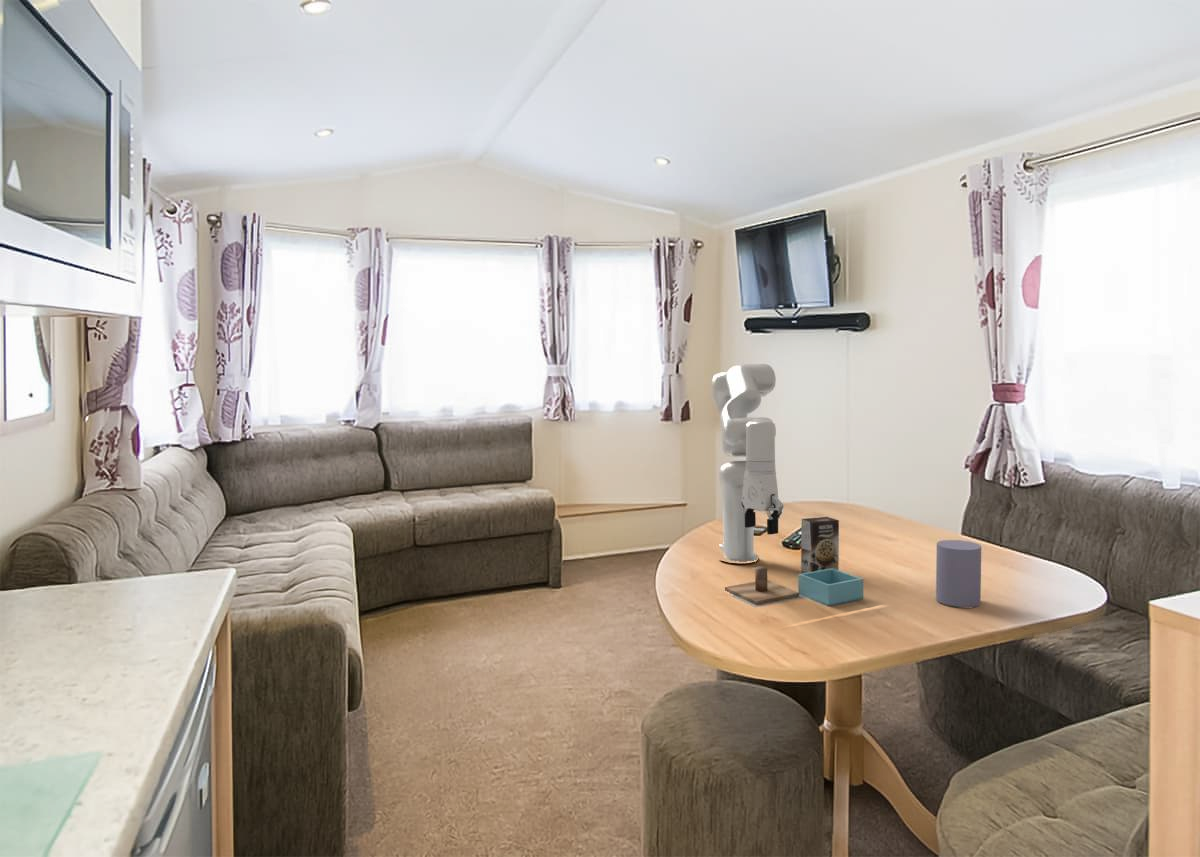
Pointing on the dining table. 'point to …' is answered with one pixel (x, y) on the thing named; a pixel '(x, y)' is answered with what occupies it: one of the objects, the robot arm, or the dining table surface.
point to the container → (958, 573)
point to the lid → (761, 589)
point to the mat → (765, 603)
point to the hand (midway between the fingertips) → (761, 530)
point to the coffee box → (819, 544)
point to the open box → (830, 586)
